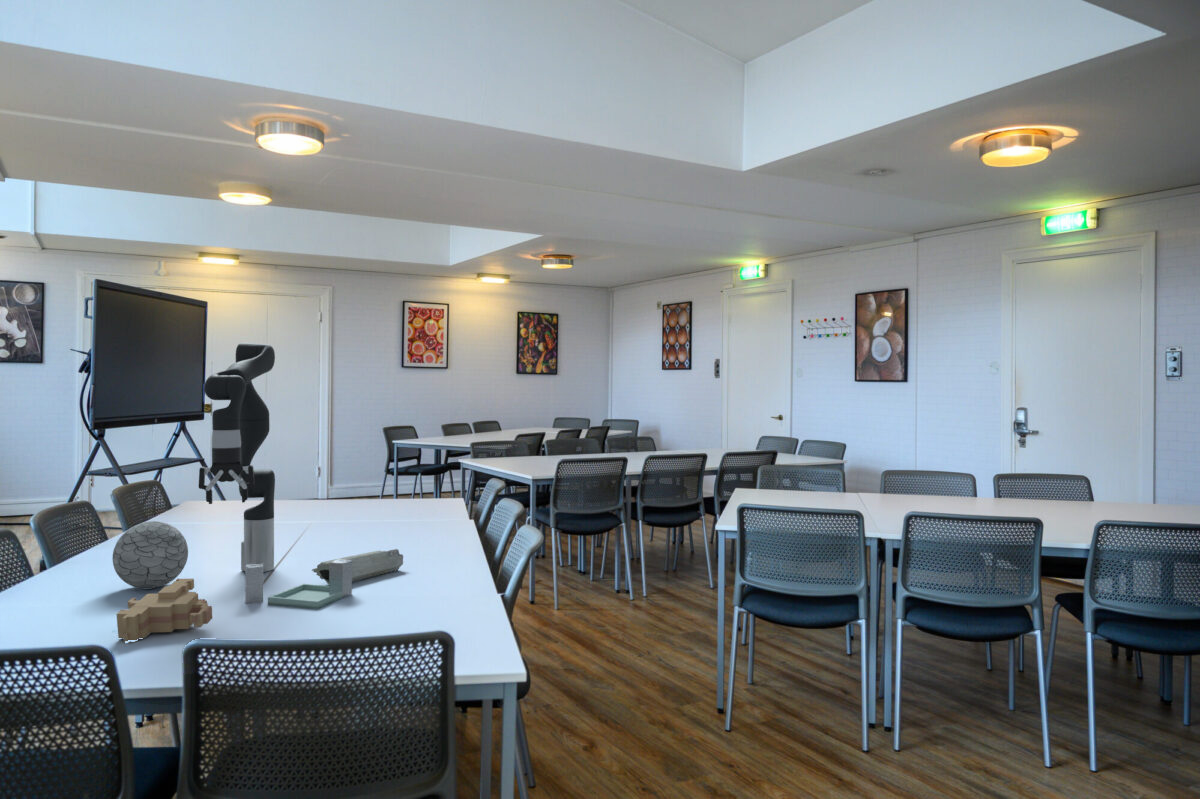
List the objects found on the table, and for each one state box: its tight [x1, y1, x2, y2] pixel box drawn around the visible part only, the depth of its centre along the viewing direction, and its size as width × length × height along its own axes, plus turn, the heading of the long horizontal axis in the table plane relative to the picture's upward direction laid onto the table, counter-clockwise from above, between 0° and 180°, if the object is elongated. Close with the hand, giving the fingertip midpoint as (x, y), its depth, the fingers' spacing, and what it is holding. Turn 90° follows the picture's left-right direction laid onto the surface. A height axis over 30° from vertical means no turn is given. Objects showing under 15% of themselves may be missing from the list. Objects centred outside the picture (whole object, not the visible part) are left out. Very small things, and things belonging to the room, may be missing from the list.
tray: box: [267, 583, 343, 610], centre depth 228 cm, size 16×16×2 cm
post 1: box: [244, 564, 264, 604], centre depth 226 cm, size 4×4×10 cm
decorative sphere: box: [112, 520, 189, 589], centre depth 239 cm, size 20×20×20 cm
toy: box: [115, 578, 213, 642], centre depth 198 cm, size 10×20×20 cm
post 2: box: [328, 558, 353, 598], centre depth 233 cm, size 4×4×10 cm
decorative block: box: [311, 548, 404, 585], centre depth 253 cm, size 8×30×8 cm, turn 148°
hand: (227, 502), depth 226 cm, fingers open, 8 cm apart
